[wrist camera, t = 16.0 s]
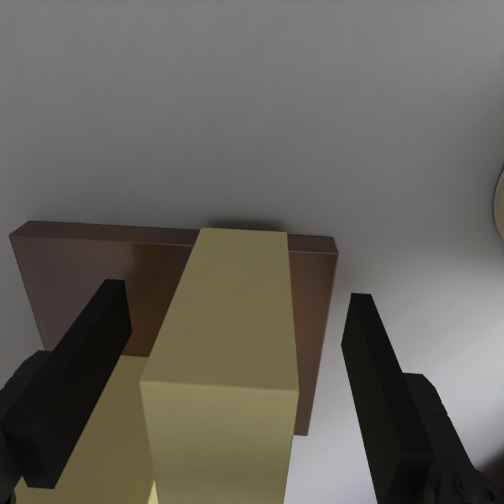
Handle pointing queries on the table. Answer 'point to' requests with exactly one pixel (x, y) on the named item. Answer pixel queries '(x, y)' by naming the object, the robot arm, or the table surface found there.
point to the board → (159, 284)
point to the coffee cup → (499, 206)
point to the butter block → (107, 450)
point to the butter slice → (225, 374)
